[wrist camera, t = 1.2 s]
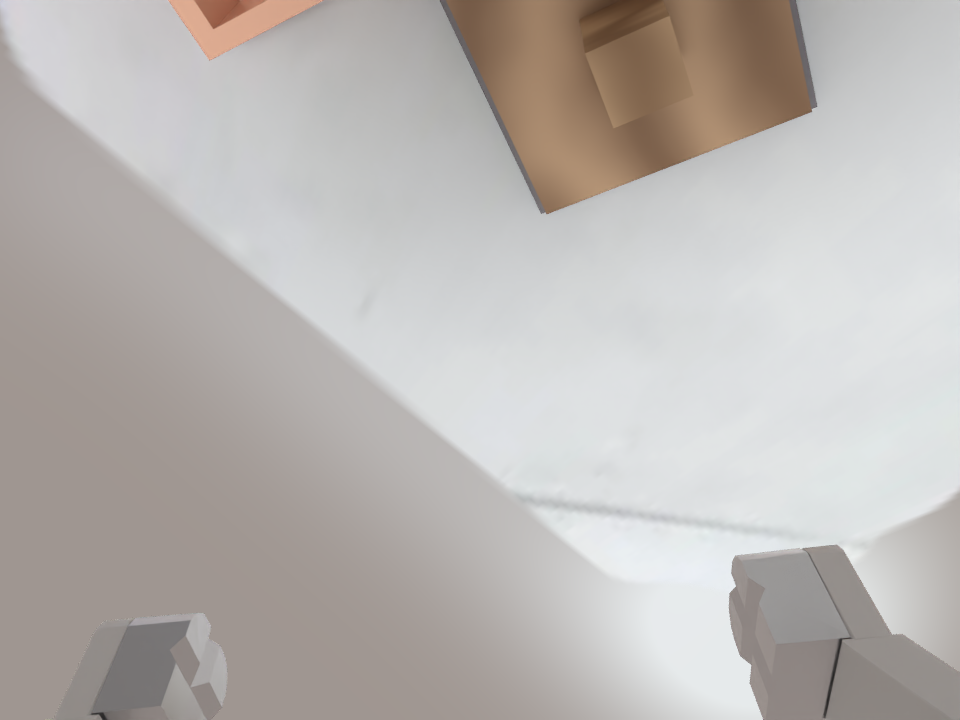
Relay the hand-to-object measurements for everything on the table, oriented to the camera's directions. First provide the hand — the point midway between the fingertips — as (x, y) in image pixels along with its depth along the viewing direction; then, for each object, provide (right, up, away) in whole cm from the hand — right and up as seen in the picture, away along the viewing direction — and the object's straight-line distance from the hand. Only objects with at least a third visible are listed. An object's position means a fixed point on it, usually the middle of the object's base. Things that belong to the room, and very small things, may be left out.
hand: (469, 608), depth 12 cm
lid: (+7, +20, +25) cm, 33 cm away
